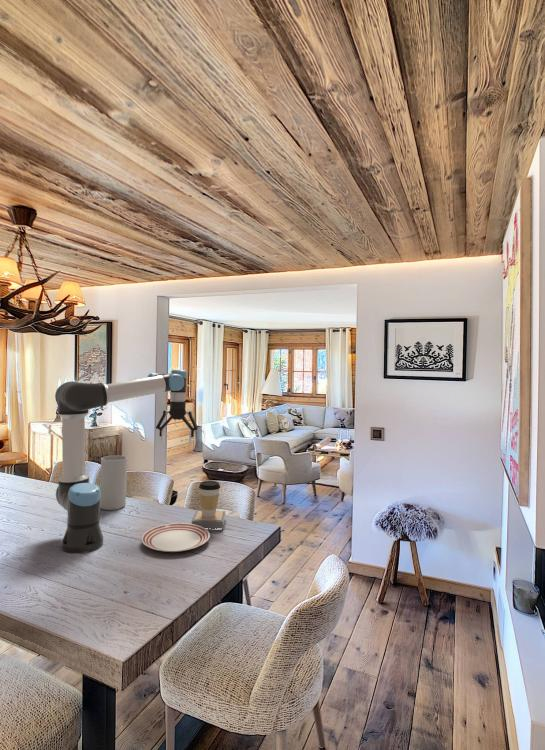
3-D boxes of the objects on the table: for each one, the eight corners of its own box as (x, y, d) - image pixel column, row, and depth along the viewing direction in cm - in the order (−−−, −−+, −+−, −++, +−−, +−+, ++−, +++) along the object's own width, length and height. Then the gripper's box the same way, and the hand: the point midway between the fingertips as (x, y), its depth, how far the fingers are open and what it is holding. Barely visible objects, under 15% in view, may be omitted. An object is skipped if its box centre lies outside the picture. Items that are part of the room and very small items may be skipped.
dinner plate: (211, 555, 161) (212, 546, 161) (138, 559, 155) (138, 550, 155) (207, 529, 187) (207, 521, 187) (144, 531, 181) (144, 524, 181)
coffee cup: (220, 512, 197) (221, 480, 197) (218, 519, 188) (219, 486, 188) (199, 511, 197) (200, 480, 197) (196, 518, 187) (197, 485, 187)
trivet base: (222, 530, 186) (223, 521, 186) (191, 529, 185) (191, 520, 185) (225, 519, 200) (225, 510, 200) (196, 518, 199) (196, 510, 199)
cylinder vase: (109, 512, 204) (111, 461, 204) (94, 507, 211) (95, 458, 211) (130, 505, 215) (132, 457, 215) (114, 501, 221) (116, 454, 221)
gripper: (204, 401, 210) (202, 443, 210) (154, 399, 209) (153, 441, 209) (202, 402, 202) (200, 445, 202) (150, 400, 202) (149, 444, 202)
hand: (176, 443), depth 206 cm, fingers open, 13 cm apart
